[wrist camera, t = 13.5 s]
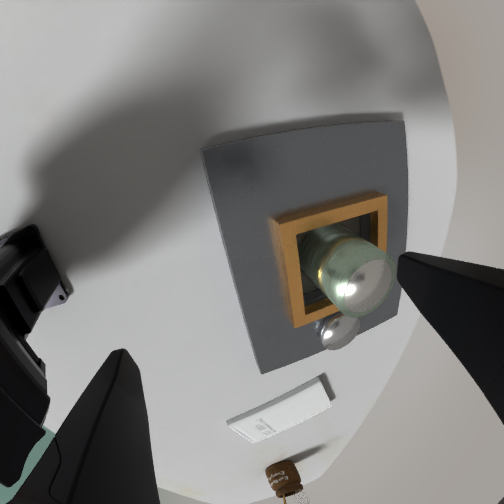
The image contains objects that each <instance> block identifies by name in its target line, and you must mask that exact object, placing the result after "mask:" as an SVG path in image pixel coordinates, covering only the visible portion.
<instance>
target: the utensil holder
mask: <svg viewBox="0 0 504 504" xmlns="http://www.w3.org/2000/svg"><path fill="white" fill-rule="evenodd" d="M266 476H267V478H268V481H269V483H270V486H271V488H272V489H273V490H274V491H276V495H277V497H278V498H283V500H284V504H286V500H285V497H287V496H291V495H295V494H296V493H298V492H300V491H302V490H303V486H302V484H300V482H301V478H300V475H299V473H298V471H297V469H296V467H295V465H294V463H293V462H292V461H283V462H279V463H276V464H273V465H271V466H269V467H268V468H267V469H266Z"/></svg>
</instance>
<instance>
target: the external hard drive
mask: <svg viewBox="0 0 504 504" xmlns="http://www.w3.org/2000/svg"><path fill="white" fill-rule="evenodd" d="M331 406H332V404H331V402H330V400H329V397H328V395H327V393H326V391H325V389H324V387H323V385H322V383H321V381H320V379H319V378H318V376H317V377H315V378H314V379H312V380H310V381H308V382H307V383H305V384H303V385H301V386H299V387H297V388H295V389H294V390H292V391H290V392H288V393H286V394H284V395H282V396H280V397H278V398H276V399H274V400H272V401H270V402H268V403H266V404H263V405H261V406H259V407H257V408H255V409H253V410H250V411H248V412H246V413H244V414H241V415H239V416H237V417H234V418H232V419H229V420H227V421H226V422H227V425H228V427H229V428H231V429H232V430H234V431H235V432H237V433H238V434H240V435H241V436H243V437H244V438H246V439H247V440H249V441H250V442H252V443H256V442H259V441H261V440H263V439H266V438H268V437H271V436H273V435H275V434H277V433H280V432H282V431H284V430H286V429H288V428H291V427H293V426H295V425H297V424H299V423H301V422H303V421H305V420H307V419H309V418H311V417H313V416H315V415H317V414H319V413H320V412H322V411H324V410H326V409H328V408H329V407H331Z"/></svg>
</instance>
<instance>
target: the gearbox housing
mask: <svg viewBox="0 0 504 504" xmlns="http://www.w3.org/2000/svg"><path fill="white" fill-rule="evenodd" d="M200 152H201V156H202V160H203V165H204V169H205V173H206V177H207V181H208V185H209V189H210V193H211V197H212V201H213V205H214V209H215V213H216V217H217V221H218V225H219V229H220V233H221V237H222V240H223V244H224V248H225V252H226V256H227V259H228V263H229V267H230V271H231V274H232V278H233V282H234V285H235V289H236V293H237V296H238V300H239V303H240V307H241V311H242V314H243V318H244V321H245V325H246V328H247V332H248V335H249V339H250V342H251V346H252V349H253V352H254V356H255V359H256V363H257V365H258V368H259V370H260V373H261V374H264V373H267V372H270V371H273V370H275V369H278V368H281V367H284V366H286V365H289V364H292V363H294V362H297V361H299V360H302V359H304V358H307V357H309V356H312V355H314V354H317V353H319V352H321V351H324V350H326V349H329V350H337V349H340V348H342V347H344V346H346V345H347V344H349V343H350V342H351V341H352V340H353V339H354V338H355V336H357V335H359V334H361V333H363V332H365V331H367V330H369V329H371V328H373V327H375V326H377V325H379V324H381V323H383V322H385V321H386V320H388V319H390V318H392V317H394V316H396V315H397V312H398V306H399V300H400V293H401V285H400V284H399V282H398V280H397V265H398V258H399V256H400V255H401V254H403V253H405V250H406V236H407V215H408V169H407V149H406V135H405V125H404V121H372V122H358V123H346V124H336V125H327V126H318V127H311V128H303V129H297V130H290V131H284V132H278V133H272V134H267V135H261V136H256V137H251V138H246V139H241V140H237V141H232V142H228V143H224V144H219V145H215V146H211V147H207V148H203V149H200ZM357 216H360V237H362V238H363V239H365V240H367V241H368V242H370V243H371V244H373V245H375V246H376V247H378V248H379V249H381V250H382V251H384V252H385V253H387V254H388V255H390V256H391V257H392V259H393V260H394V263H395V267H396V275H395V280H394V284H393V286H392V288H391V291H390V292H389V294H388V296H387V297H386V299H385V300H384V301H383V302H382V303H381V304H380V305H379V306H378V307H377V308H376V309H375V310H373V311H372V312H370V313H369V314H367V315H364V316H361V317H357V318H351V317H347V316H345V315H344V314H342V313H341V311H340V310H339V309H338V308H337V307H336V306H335V305H334V304H333V303H332V302H331V300H330V299H329V298H328V297H327V296H326V295H325V294H324V293H323V292H322V291H321V290H320V289H318V290H315V291H312V292H310V293H307V294H304V295H303V290H302V281H301V272H300V264H299V255H298V247H297V240H296V234H300V233H303V232H306V231H310V230H313V229H317V228H320V227H323V226H327V225H330V224H333V223H337V222H340V221H343V220H347V219H350V218H353V217H357Z"/></svg>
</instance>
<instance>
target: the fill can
mask: <svg viewBox="0 0 504 504" xmlns="http://www.w3.org/2000/svg"><path fill="white" fill-rule="evenodd" d="M299 264H300V266H301V268H302V270H303V271H304V272H305V273H306V274H307V275H308V277H309V278H310V279H311V280H312V281H313V282H314V283H315V284H316V285H317V286H318V287H319V288H320V290H321V291H322V292H323V293H324V294H325V295H326V296H327V297H328V298H329V299H330V300H331V302H332V303H333V304H334V305H335V306H336V307H337V308H338V309H339V310H340V311H341V313H342V314H344V315H345V316H347V317H351V318H357V317H361V316H364V315H367V314H369V313H370V312H372V311H373V310H375V309H376V308H377V307H378V306H379V305H380V304H381V303H382V302H383V301H384V300H385V299H386V297H387V296H388V294H389V292H390V291H391V288H392V286H393V284H394V280H395V275H396V267H395V263H394V260H393V259H392V257H391V256H390V255H388V254H387V253H385V252H384V251H382V250H381V249H379V248H378V247H376V246H375V245H373V244H371V243H370V242H368V241H367V240H365V239H363V238H362V237H360V236H359V235H357V234H355V233H354V232H352V231H351V230H349V229H347V228H346V227H344V226H342V225H341V224H338V223H333V224H330V225H327V226H323V227H320V228H317V229H313V230H311V231H310V232H309V233H308V234H307V235H306V236H305V238H304V239H303V241H302V243H301V246H300V249H299Z"/></svg>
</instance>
